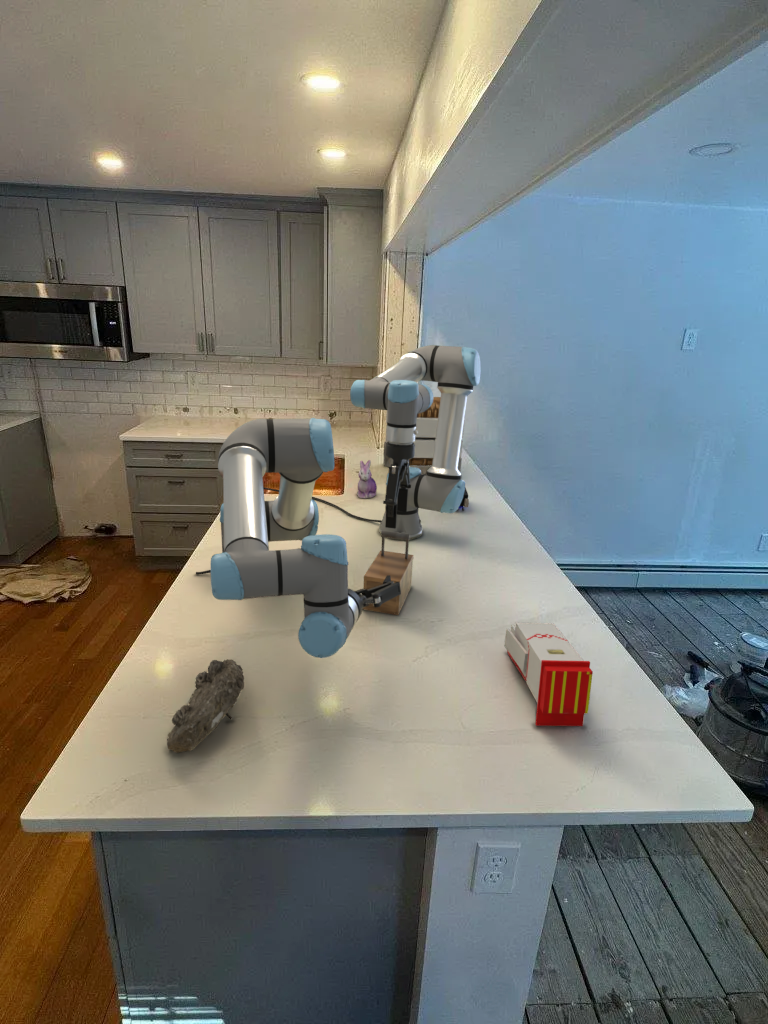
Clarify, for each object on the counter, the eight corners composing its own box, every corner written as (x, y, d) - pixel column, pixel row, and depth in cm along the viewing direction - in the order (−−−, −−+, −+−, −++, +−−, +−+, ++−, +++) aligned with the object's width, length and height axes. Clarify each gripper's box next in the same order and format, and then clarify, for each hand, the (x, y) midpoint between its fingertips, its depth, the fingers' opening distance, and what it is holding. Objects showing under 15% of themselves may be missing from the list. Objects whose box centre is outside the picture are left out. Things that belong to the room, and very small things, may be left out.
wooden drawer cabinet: (382, 463, 289) (386, 382, 275) (445, 464, 293) (451, 384, 279) (390, 482, 257) (394, 392, 243) (460, 483, 261) (468, 394, 247)
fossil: (192, 660, 117) (244, 628, 112) (224, 691, 120) (276, 661, 115) (142, 746, 98) (202, 712, 93) (182, 779, 101) (242, 748, 96)
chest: (378, 582, 164) (379, 555, 161) (411, 587, 162) (412, 559, 159) (362, 609, 149) (363, 580, 146) (398, 615, 147) (400, 585, 144)
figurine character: (468, 516, 224) (463, 500, 237) (471, 498, 221) (465, 483, 234) (452, 515, 224) (447, 499, 237) (453, 498, 220) (449, 482, 234)
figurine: (361, 500, 232) (362, 464, 227) (351, 492, 241) (352, 458, 236) (382, 497, 237) (383, 462, 232) (371, 490, 245) (372, 456, 240)
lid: (380, 554, 162) (381, 526, 159) (413, 558, 160) (415, 530, 157) (363, 580, 146) (364, 549, 143) (400, 585, 144) (401, 555, 141)
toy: (550, 607, 134) (601, 667, 105) (545, 659, 137) (594, 732, 108) (499, 606, 134) (537, 666, 104) (495, 659, 137) (530, 731, 107)
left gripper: (278, 637, 108) (308, 606, 128) (408, 624, 104) (417, 595, 125) (272, 599, 107) (303, 574, 128) (402, 584, 103) (412, 561, 124)
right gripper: (404, 454, 134) (400, 537, 141) (423, 434, 157) (418, 506, 164) (374, 451, 136) (371, 533, 143) (397, 431, 159) (393, 503, 166)
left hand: (359, 584), depth 126 cm, fingers open, 13 cm apart
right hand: (396, 519), depth 154 cm, fingers open, 13 cm apart
